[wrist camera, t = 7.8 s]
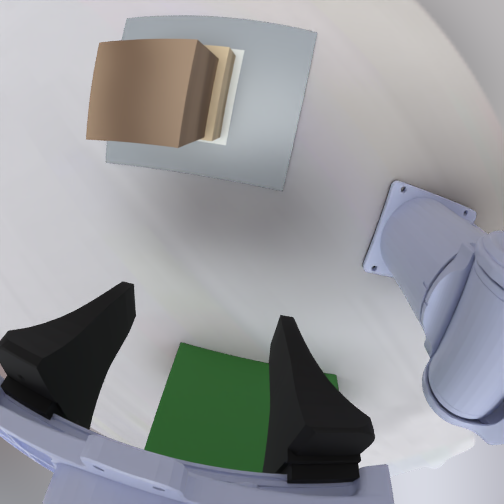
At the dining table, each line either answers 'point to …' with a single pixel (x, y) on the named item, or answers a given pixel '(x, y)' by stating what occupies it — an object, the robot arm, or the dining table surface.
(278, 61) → the build plate
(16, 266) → the dining table surface
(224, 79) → the oak block
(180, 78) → the walnut cube
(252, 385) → the hardback book
